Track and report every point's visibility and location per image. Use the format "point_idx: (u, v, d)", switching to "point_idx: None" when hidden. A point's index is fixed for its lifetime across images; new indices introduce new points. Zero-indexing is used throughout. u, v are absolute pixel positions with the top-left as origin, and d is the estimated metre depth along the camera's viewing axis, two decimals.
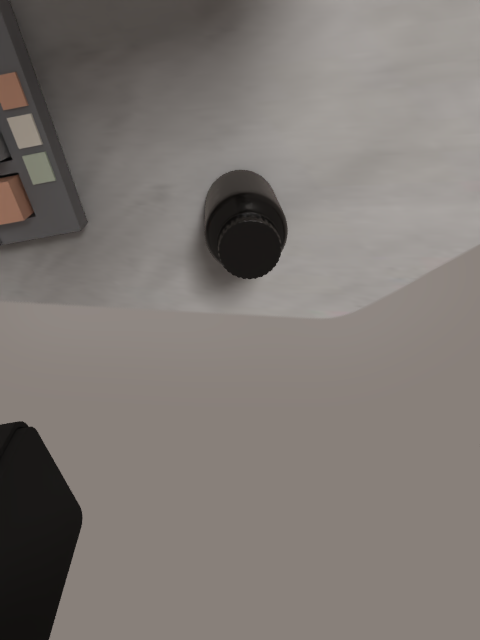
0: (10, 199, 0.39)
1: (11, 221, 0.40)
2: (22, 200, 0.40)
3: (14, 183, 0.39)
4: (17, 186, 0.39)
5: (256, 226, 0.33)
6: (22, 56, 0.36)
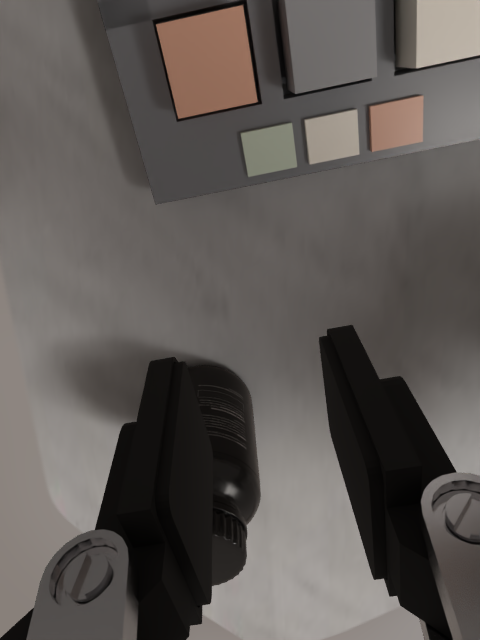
0: (220, 99, 0.19)
1: (174, 88, 0.19)
2: None
3: None
4: None
5: (236, 565, 0.23)
6: None
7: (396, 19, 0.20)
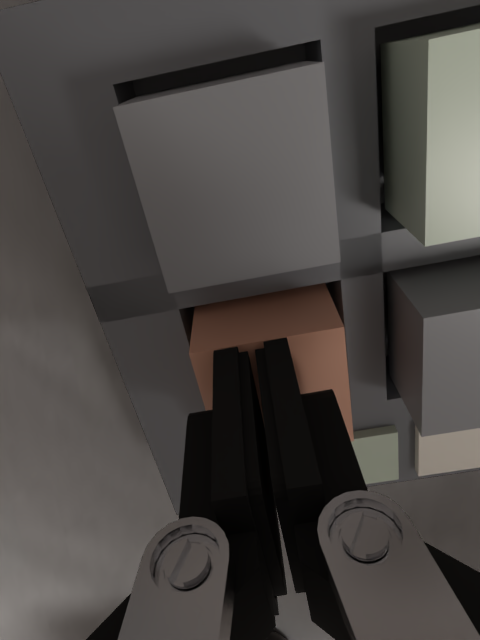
0: None
1: None
2: None
3: None
4: None
5: None
6: None
7: None
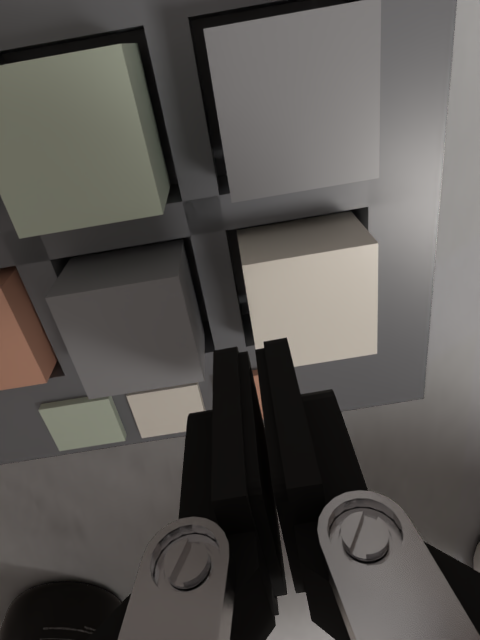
0: None
1: None
2: None
3: None
4: None
5: None
6: None
7: None
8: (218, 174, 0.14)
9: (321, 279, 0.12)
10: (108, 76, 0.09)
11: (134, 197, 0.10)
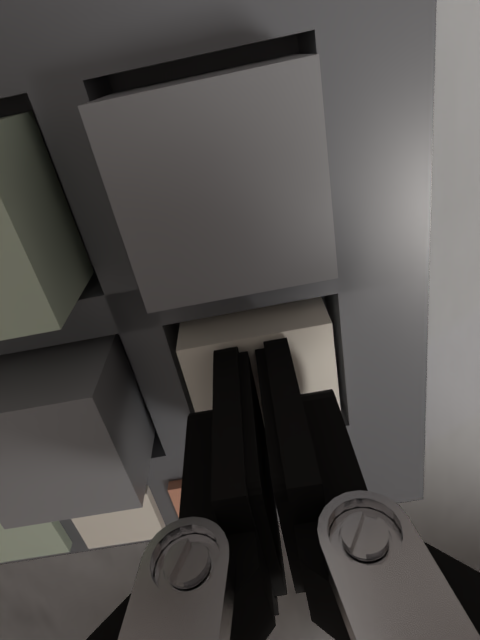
0: None
1: None
2: None
3: None
4: None
5: None
6: None
7: None
8: None
9: None
10: None
11: (20, 311, 0.08)
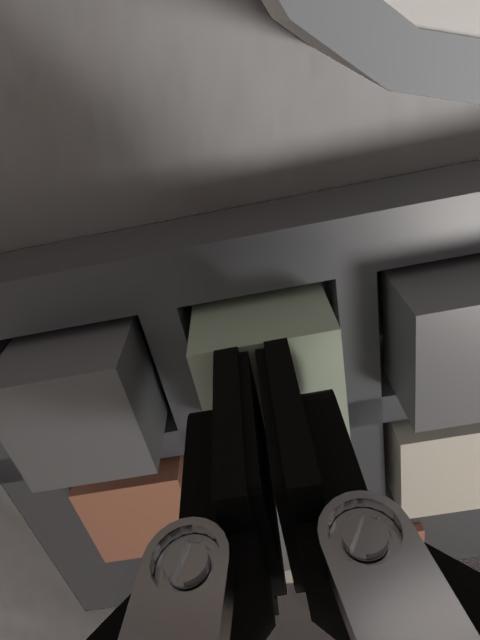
0: None
1: (97, 541, 0.15)
2: None
3: None
4: None
5: None
6: None
7: None
8: None
9: (467, 452, 0.13)
10: (324, 351, 0.10)
11: None
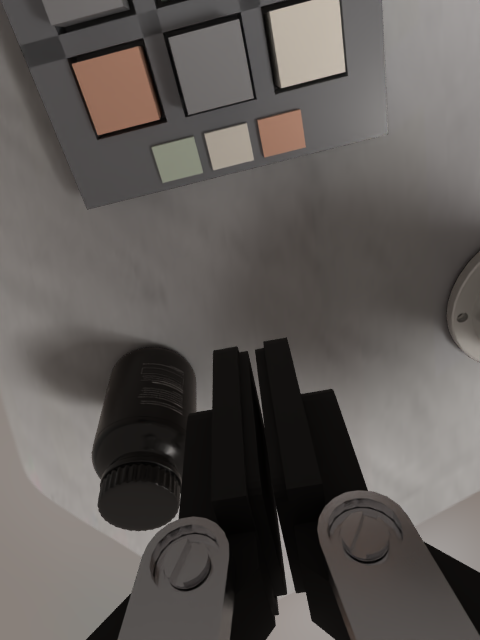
0: (129, 118, 0.24)
1: (91, 112, 0.24)
2: None
3: None
4: None
5: (171, 509, 0.27)
6: None
7: None
8: None
9: (311, 19, 0.22)
10: None
11: None
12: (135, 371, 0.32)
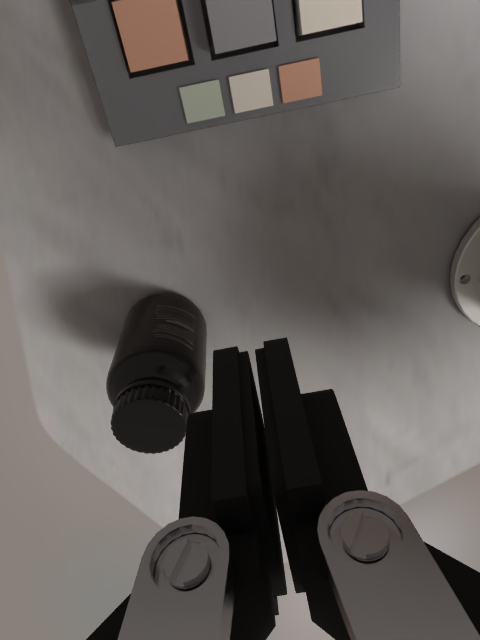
0: (161, 58, 0.26)
1: (126, 50, 0.26)
2: None
3: None
4: None
5: (179, 431, 0.29)
6: None
7: (292, 0, 0.27)
8: None
9: None
10: None
11: None
12: (150, 311, 0.34)
